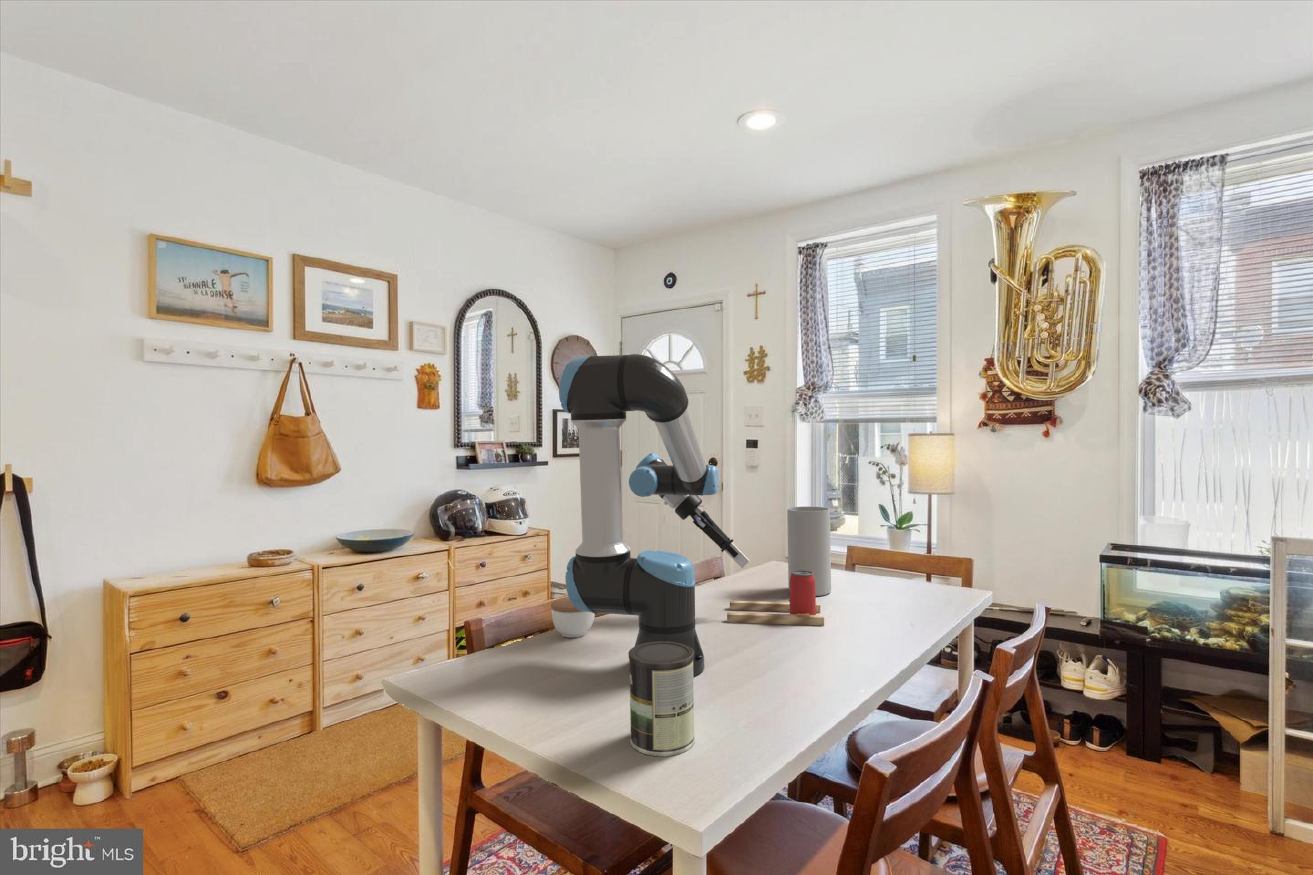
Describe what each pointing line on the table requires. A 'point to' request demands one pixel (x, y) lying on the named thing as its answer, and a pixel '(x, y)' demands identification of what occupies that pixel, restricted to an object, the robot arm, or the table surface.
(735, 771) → the table surface
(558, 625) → the lidded jar
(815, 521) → the cylinder vase
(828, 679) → the table surface
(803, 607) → the beer can
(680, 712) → the coffee can
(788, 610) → the channel
